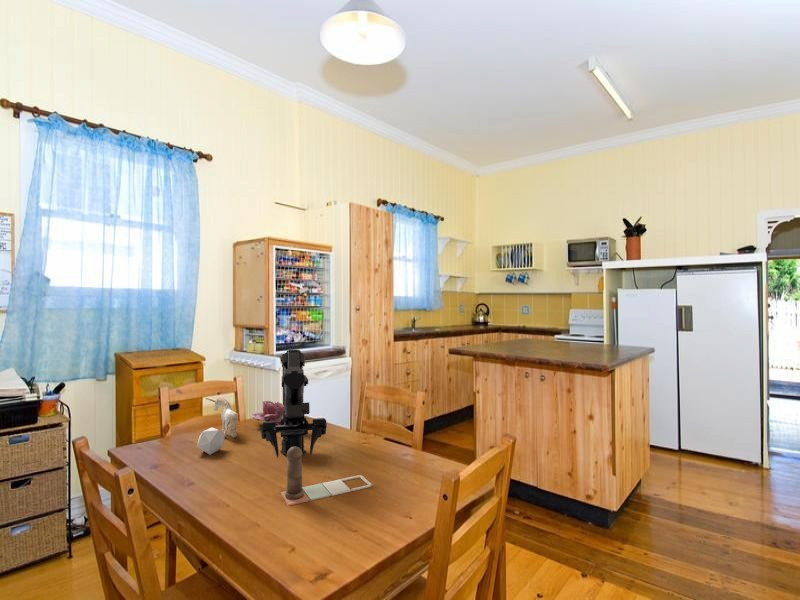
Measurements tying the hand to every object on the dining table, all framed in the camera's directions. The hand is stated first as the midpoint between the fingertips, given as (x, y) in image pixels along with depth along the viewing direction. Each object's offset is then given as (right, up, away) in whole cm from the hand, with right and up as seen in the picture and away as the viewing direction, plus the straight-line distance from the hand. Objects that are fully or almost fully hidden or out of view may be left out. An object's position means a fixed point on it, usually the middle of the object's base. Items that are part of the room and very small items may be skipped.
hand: (294, 455), depth 124 cm
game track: (+10, -8, -4) cm, 13 cm away
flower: (-24, -8, +57) cm, 62 cm away
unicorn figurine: (-39, -8, +42) cm, 58 cm away
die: (-35, -8, +25) cm, 43 cm away
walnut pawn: (+2, -8, -8) cm, 11 cm away
